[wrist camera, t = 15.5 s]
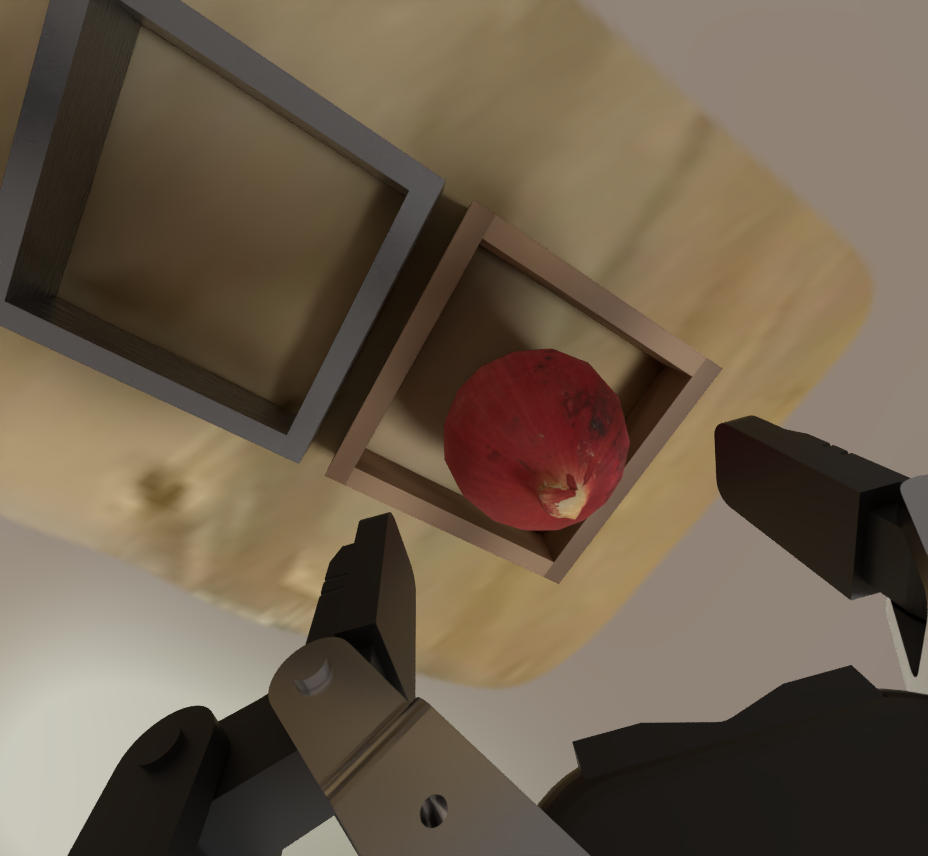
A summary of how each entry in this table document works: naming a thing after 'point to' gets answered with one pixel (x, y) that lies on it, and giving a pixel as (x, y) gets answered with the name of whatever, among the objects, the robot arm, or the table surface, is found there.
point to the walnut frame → (644, 424)
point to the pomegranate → (536, 440)
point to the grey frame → (68, 182)
